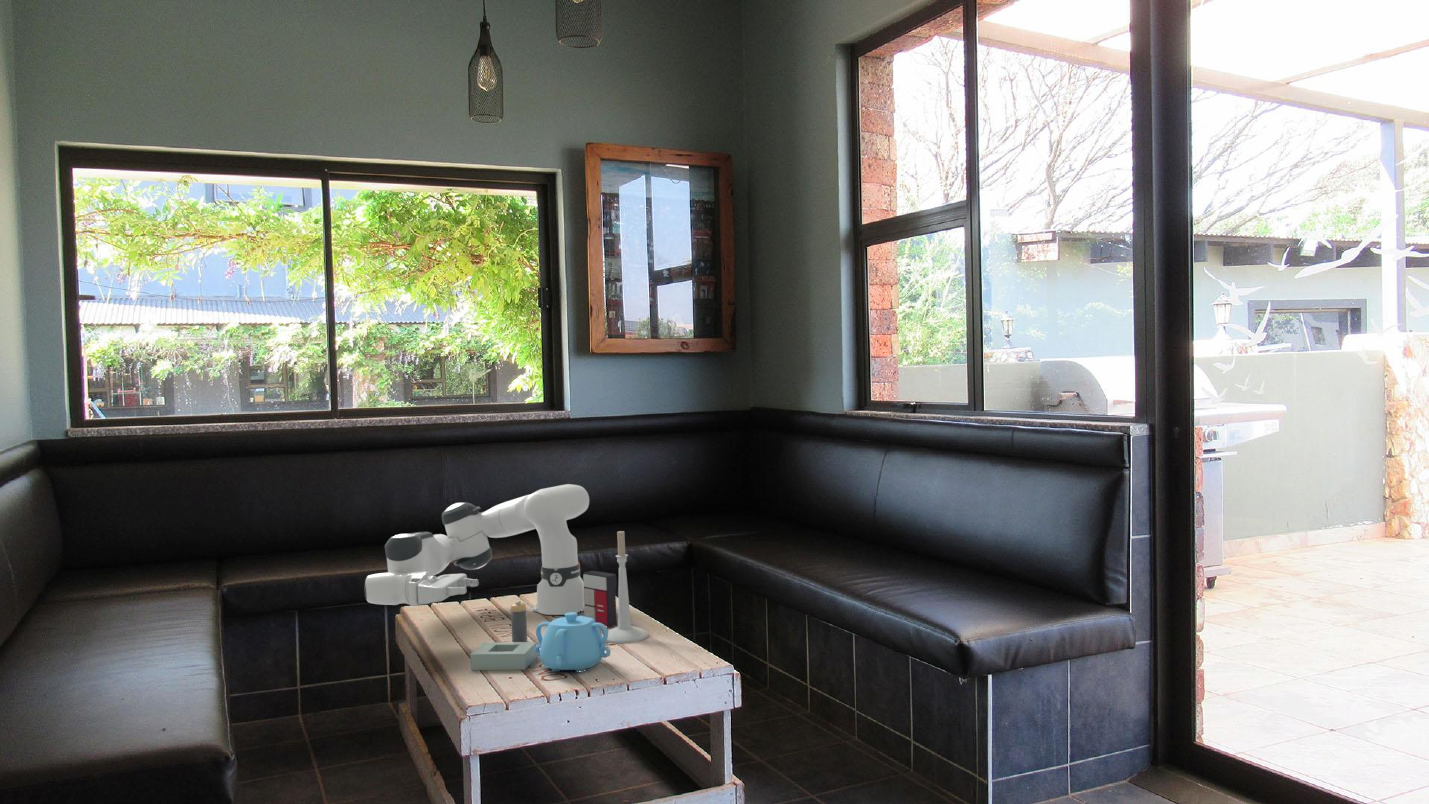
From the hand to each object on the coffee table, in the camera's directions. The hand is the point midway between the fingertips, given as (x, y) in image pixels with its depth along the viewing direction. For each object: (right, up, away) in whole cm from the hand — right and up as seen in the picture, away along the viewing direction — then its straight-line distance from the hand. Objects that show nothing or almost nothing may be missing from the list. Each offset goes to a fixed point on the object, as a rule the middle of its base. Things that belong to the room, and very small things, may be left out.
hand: (471, 586), depth 270 cm
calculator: (+32, -16, +23) cm, 43 cm away
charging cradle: (+12, -17, -14) cm, 25 cm away
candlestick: (+41, -16, +7) cm, 44 cm away
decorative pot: (+30, -17, -19) cm, 39 cm away
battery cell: (+13, -17, 0) cm, 21 cm away
